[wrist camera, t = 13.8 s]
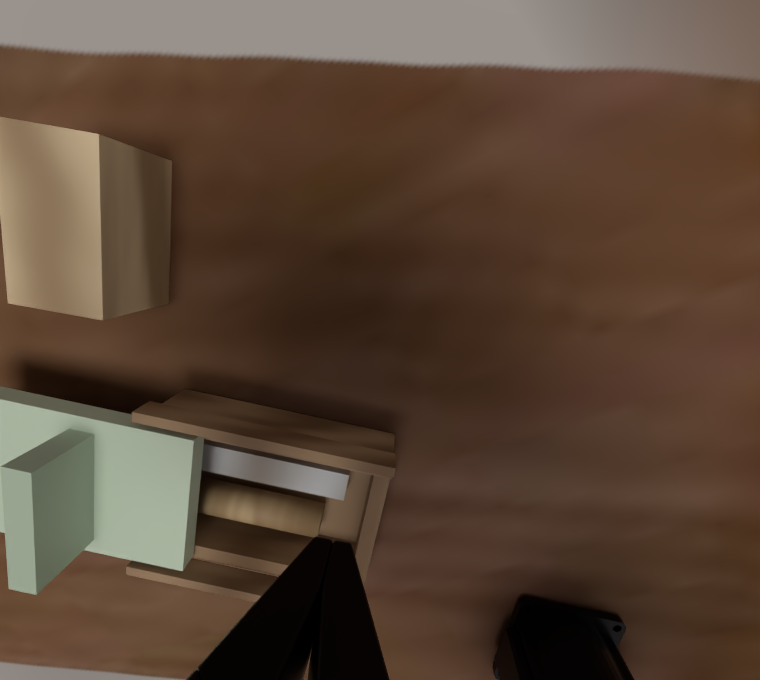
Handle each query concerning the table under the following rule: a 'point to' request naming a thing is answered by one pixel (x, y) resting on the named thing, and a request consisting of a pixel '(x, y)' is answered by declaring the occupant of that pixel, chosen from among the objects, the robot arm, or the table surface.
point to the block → (83, 221)
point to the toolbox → (271, 489)
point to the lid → (91, 488)
